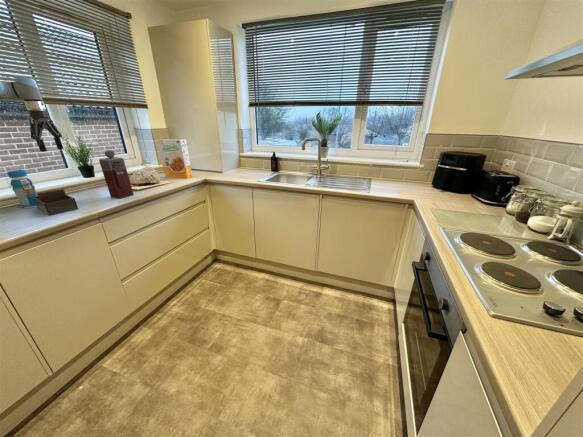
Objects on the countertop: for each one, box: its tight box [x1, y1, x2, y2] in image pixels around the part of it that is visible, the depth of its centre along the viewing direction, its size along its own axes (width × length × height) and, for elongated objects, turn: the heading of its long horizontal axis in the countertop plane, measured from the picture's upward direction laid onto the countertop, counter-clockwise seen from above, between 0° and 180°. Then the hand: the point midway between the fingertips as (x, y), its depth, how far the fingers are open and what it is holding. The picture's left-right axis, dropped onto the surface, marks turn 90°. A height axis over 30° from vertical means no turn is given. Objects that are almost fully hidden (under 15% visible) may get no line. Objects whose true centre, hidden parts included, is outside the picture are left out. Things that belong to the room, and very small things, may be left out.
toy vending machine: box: [98, 149, 135, 200], centre depth 144 cm, size 9×11×28 cm
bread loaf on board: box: [129, 166, 172, 190], centre depth 174 cm, size 28×22×16 cm
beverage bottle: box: [6, 169, 38, 209], centre depth 131 cm, size 8×8×20 cm
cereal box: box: [157, 138, 193, 180], centre depth 194 cm, size 22×6×30 cm, turn 72°
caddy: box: [33, 188, 79, 216], centre depth 129 cm, size 23×12×10 cm, turn 55°
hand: (52, 150), depth 139 cm, fingers open, 13 cm apart
